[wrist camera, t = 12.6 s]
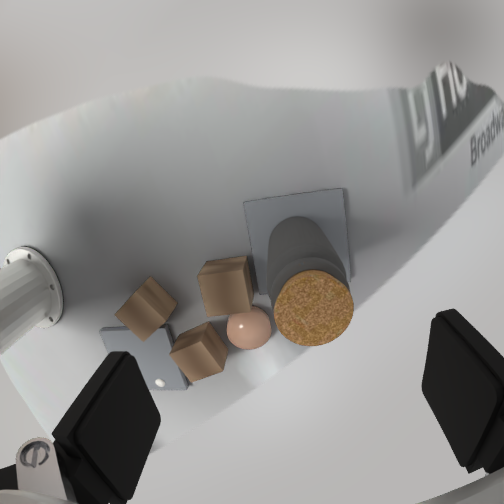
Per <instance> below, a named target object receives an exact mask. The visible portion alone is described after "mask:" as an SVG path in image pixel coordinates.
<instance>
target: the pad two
mask: <svg viewBox="0 0 504 504" xmlns="http://www.w3.org/2000/svg"><path fill="white" fill-rule="evenodd" d="M99 332H100V335H101V337H102V340H103V342H104V344H105V347H106V349H107V351H108V354H109V353H110V352H112V351H127V352H129V353H130V354H131V355H132V356H134V357H135V358H136V361H137V363H138V366H139V368H140V370H141V373H142V375H143V378H144V380H145V382H146V385H147V387H148V389H149V390H187V388H188V383H187V380H186V378H185V375H184V373H183V372H182V371H181V369H180V368H179V367H178V365H177V364H176V363H175V362H174V360H173V359H172V358H171V357H170V355H169V353H170V351H171V350H172V348H173V346H174V343H173V340H172V337H171V334H170V331H169V328H168V325H167V324H163V325H161V326H160V327H159V328H158V329H157V330H156V331H155V332H154V333H153V334H152V335H151V336H150V337H148V338H147V339H146V340H145V341H144V342H143V341H141V340H140V339H139V338H138V337H137V336H136V335H135V334H134V333H133V332H132V331H131V330H130V329H129V328H128V327H110V328H102V329H101V330H100V331H99Z"/></svg>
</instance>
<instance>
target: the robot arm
mask: <svg viewBox="0 0 504 504" xmlns="http://www.w3.org/2000/svg"><path fill="white" fill-rule="evenodd" d="M62 310H63V296H62V290H61V287H60V284H59V281H58V279H57V276H56V274H55V272H54V271H53V269H52V267H51V266H50V264H49V263H48V262H47V260H46V259H45V258H44V257H43V256H42V255H41V254H39V253H38V252H37V251H35V250H33V249H31V248H29V247H19V248H16V249H14V250H12V251H11V252H9V254H8V255H7V256H6V258H5V261H4V265H3V267H2V268H0V356H1V355H2V354H3V353H4V352H5V351H6V350H8V349H9V348H10V347H11V346H12V345H13V344H15V343H16V342H17V341H18V340H19V339H20V338H22V337H23V336H24V335H25V334H26V333H27V332H29V331H30V330H31V329H32V328H33V327H38V328H49V327H51V326H53V325H54V324H55V323H56V322H57V321H58V320H59V318H60V316H61V314H62ZM422 392H423V394H424V396H425V398H426V400H427V402H428V404H429V405H430V407H431V409H432V411H433V413H434V415H435V417H436V419H437V421H438V422H439V424H440V426H441V428H442V430H443V432H444V434H445V436H446V438H447V440H448V442H449V444H450V446H451V448H452V450H453V452H454V454H455V456H456V458H457V460H458V462H459V464H460V466H461V467H466V469H467V471H468V473H472V472H474V471H476V470H478V469H480V468H482V467H483V468H484V470H485V472H486V474H485V477H484V478H481V479H479V480H477V481H474V482H472V483H470V484H467V485H465V486H463V487H461V488H458V489H455V490H453V491H450V492H448V493H445V494H443V495H440V496H437V497H435V498H432V499H429V500H426V501H423V502H421V503H418V504H504V358H503V356H502V355H501V354H500V353H499V352H498V351H497V350H496V349H495V348H494V347H493V346H492V345H491V344H490V343H489V342H488V341H487V340H486V339H485V338H484V337H483V336H482V335H481V334H480V333H479V332H478V331H477V330H476V329H475V328H474V327H473V326H472V325H471V324H470V323H469V322H468V321H467V320H466V319H465V318H464V317H463V316H462V315H461V314H460V313H459V312H458V311H457V310H455V309H449V310H445V311H441V312H438V313H437V314H436V317H435V318H433V319H432V321H431V328H430V336H429V344H428V351H427V357H426V363H425V370H424V374H423V380H422ZM160 422H161V417H160V413H159V411H158V409H157V407H156V405H155V403H154V400H153V398H152V396H151V394H150V392H149V389H148V387H147V385H146V382H145V380H144V378H143V375H142V373H141V370H140V368H139V366H138V363H137V361H136V358H135V357H134V356H132V355H131V354H130V353H129V352H127V351H112V352H110V353H109V354H108V356H107V357H106V358H105V360H104V361H103V362H102V364H101V365H100V366H99V368H98V369H97V370H96V372H95V373H94V374H93V376H92V377H91V378H90V380H89V381H88V383H87V384H86V385H85V387H84V388H83V389H82V391H81V392H80V394H79V395H78V396H77V398H76V399H75V401H74V402H73V403H72V405H71V406H70V408H69V409H68V410H67V412H66V413H65V415H64V416H63V418H62V419H61V421H60V422H59V423H58V425H57V426H56V428H55V429H54V431H53V432H52V435H53V437H54V438H55V441H54V442H53V443H52V442H51V441H50V440H49V439H46V438H41V437H38V438H33V439H31V440H28V441H27V442H25V443H24V444H23V445H22V446H21V447H20V448H19V450H18V452H17V454H16V464H14V465H11V466H9V467H5V468H3V469H0V504H108V503H110V504H126V503H127V500H130V499H131V498H132V497H133V494H134V492H135V489H136V486H137V484H138V481H139V478H140V476H141V473H142V470H143V468H144V465H145V462H146V460H147V457H148V454H149V452H150V449H151V447H152V444H153V441H154V439H155V436H156V433H157V431H158V428H159V426H160Z"/></svg>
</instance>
